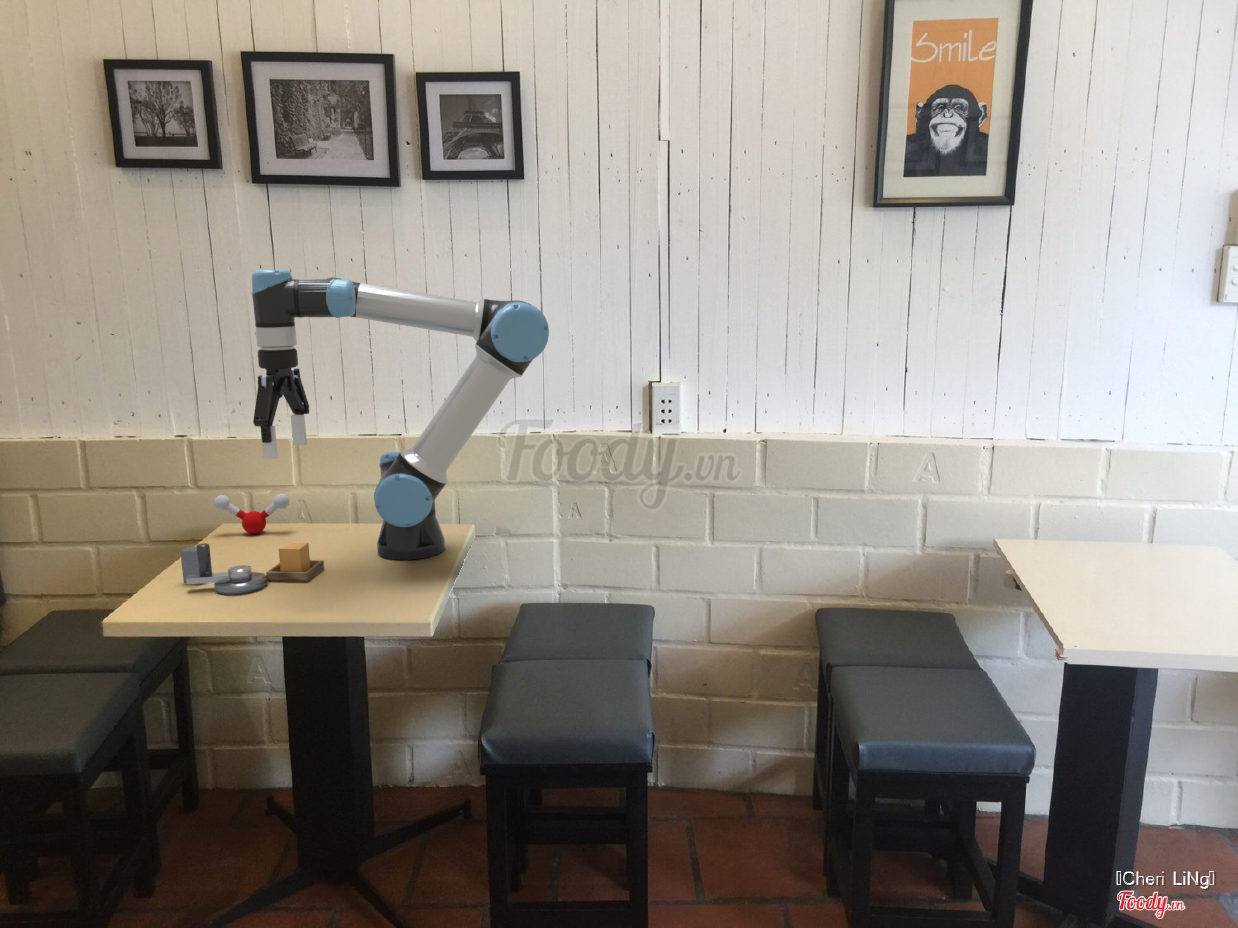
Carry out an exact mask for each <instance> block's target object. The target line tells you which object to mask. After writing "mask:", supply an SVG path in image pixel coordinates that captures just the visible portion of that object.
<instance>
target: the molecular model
mask: <svg viewBox="0 0 1238 928" xmlns="http://www.w3.org/2000/svg"><path fill="white" fill-rule="evenodd" d="M289 505H290V498H289V496H288V495H287V494H285V493H277V494H276V495H275V496H274V498H273V503H271V504H269V506H267V507H266V508H264V509H263V510H262V511H261V512H260V511H256V510H251V511H248V512H245V511H244V510H242V509H240V508H239V507H238V506H235V505H234V504H233V503H231V500H230V498H229V497H228V496H227V495H224V494H221V495H217V496H216V497H214V500H213V506H214V507H215V509H216V510H218V511H225V510H226V511H228V512H229V513H230V514H232V515H234V516H236V517H237V518H239V519H240V520H241V526H242V528H243V530H244V531H245V532H246V533H248V534H250V535H251V534H252V535H257V534H260V533H261V532H263V531H264V529H265V528H266V525H267V518H268V517H269V516H270V515H272V514H273V513H275V512H276V511H277V510H282V509H283V510H284V509H286V508H287V507H288V506H289Z"/></svg>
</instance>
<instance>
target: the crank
mask: <svg viewBox="0 0 1238 928" xmlns="http://www.w3.org/2000/svg"><path fill="white" fill-rule="evenodd" d="M195 547H196V548H197V557H198V567H199V574H194V575H188V577H187V578H186V582H187V584H186V585H200V584H199V583H203V584H207V583H211V584H213V583H212V582H226V581H229V582H230V583H234V584H238V583H245V582H249V581H251V580H252V572H253V571H252V566H250V565H246V564H245V565H235V566H232V567H229V568H228V569H227V571H221V572H213V565H212V557H211V549H210V547H211V546H210V543H205V542H204V543H198V544H197V545H196V546H195Z"/></svg>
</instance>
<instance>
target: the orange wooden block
mask: <svg viewBox="0 0 1238 928" xmlns="http://www.w3.org/2000/svg"><path fill="white" fill-rule="evenodd" d="M278 559H279V563H280V571H281V572H306V571H307V570H309V569H310V560H311V557H310V545H309V542H291V541H290V542H286V543H285V544H283V545H282V546H281V547H278Z"/></svg>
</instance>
